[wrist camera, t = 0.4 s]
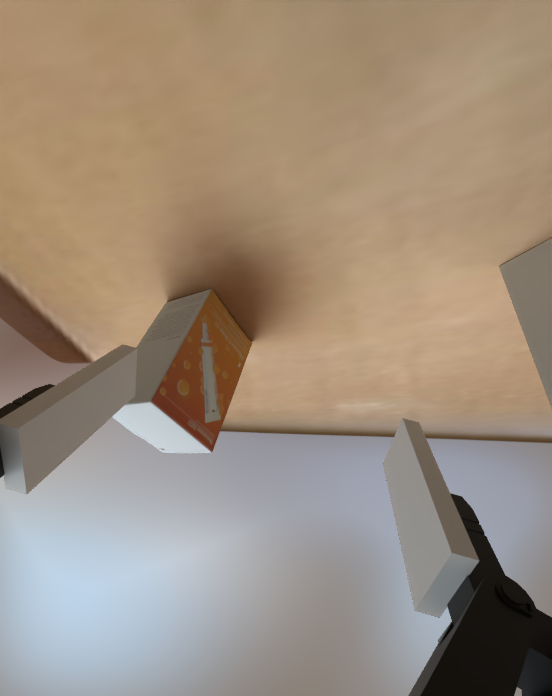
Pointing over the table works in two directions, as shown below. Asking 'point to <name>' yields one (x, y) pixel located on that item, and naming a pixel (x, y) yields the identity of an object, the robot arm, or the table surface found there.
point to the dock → (534, 304)
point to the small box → (186, 375)
